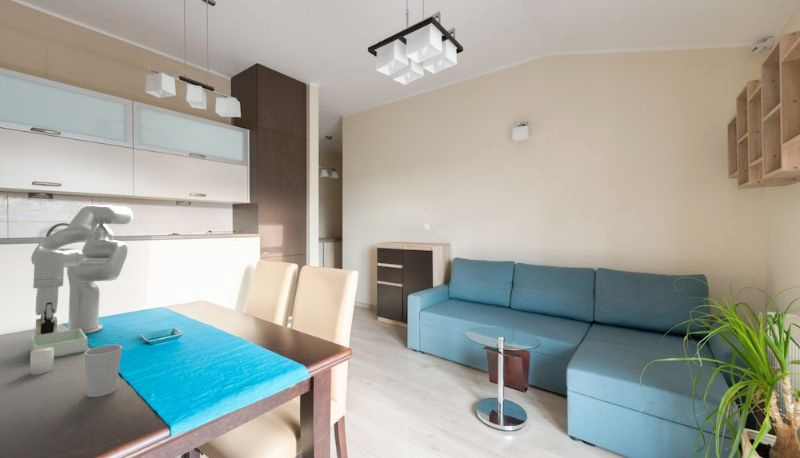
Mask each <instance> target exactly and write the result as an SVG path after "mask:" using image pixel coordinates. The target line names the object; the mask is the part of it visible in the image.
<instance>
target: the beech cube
mask: <svg viewBox="0 0 800 458" xmlns="http://www.w3.org/2000/svg"><path fill="white" fill-rule="evenodd" d="M53 321H54V332H53V333H56V332H58V331H57V329H58V318H57V316H54V318H53ZM41 323H42V318H41V317H40V318H36V319H35V335H43V334H41ZM47 334H49V333H47Z"/></svg>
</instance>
